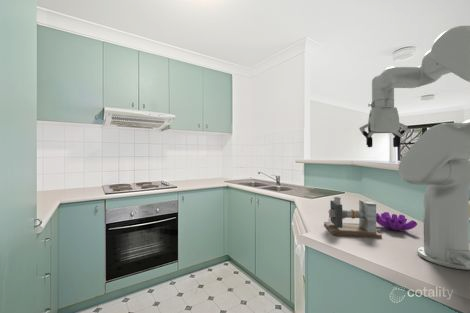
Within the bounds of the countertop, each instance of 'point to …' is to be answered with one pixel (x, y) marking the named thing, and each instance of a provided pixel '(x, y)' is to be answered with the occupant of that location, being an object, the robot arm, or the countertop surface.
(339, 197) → the flask
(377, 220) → the purple lumpy piece
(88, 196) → the countertop surface
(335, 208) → the dark grey square panel
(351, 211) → the pipe stand
